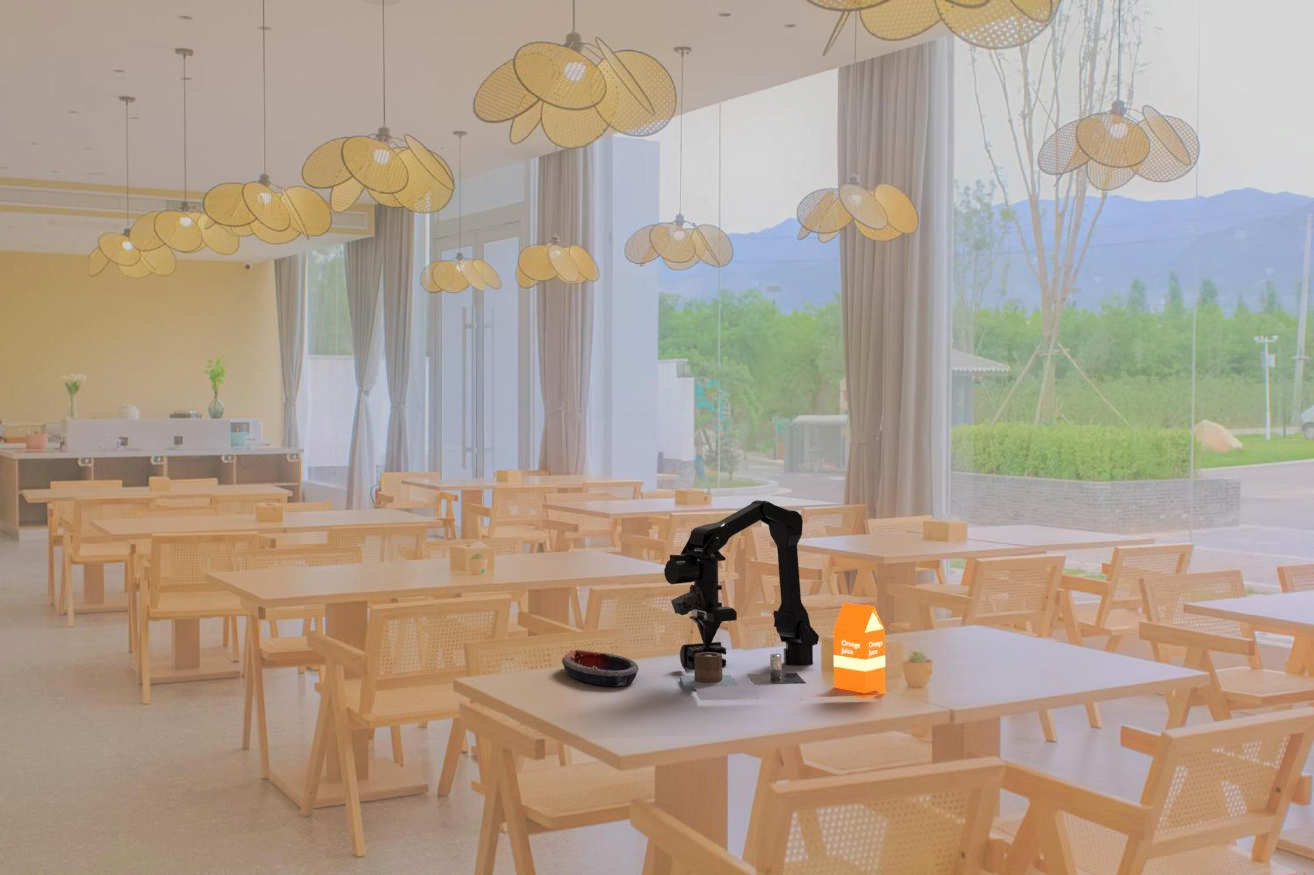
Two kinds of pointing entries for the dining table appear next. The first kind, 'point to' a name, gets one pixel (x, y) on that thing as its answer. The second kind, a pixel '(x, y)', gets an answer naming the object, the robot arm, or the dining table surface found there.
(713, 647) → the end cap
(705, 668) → the sleeve
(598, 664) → the dish
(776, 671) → the stand
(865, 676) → the orange juice
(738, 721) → the dining table surface
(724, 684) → the grey peg base
